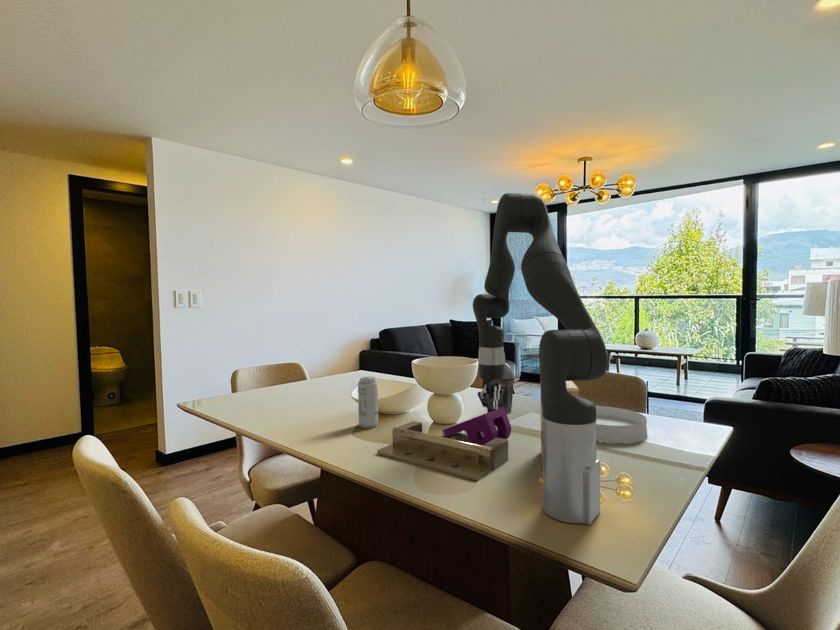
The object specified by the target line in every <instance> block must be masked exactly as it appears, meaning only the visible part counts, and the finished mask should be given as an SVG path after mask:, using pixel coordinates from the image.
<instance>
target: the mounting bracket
mask: <svg viewBox="0 0 840 630" xmlns="http://www.w3.org/2000/svg"><path fill="white" fill-rule="evenodd" d="M511 426H512V425H511V423H510V420H509V418H508V415H507V413H506V412H505V410H504V408H503V407H502V408H499V409H498V408H496V410H494V411H491V412H488V413H487V412H485V413H483V414H481V415H478V416H475V417H473V418H470V419H468V420H464V421H462V422H460V423H457V424H454V425H451V426H449V427H446V428H443V429H442V434H443V435H444V437H445V438H448V437H450V436H452V435H455V434H458V433H461V432H465V434H466V436H467V438H468V441H469V443H472V444H477V445H484V444H486V443H488V442H490V441H491V440H493V439H495V438H502V439H507V440H509V438H510V436H511V433H512V427H511Z"/></svg>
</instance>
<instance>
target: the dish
mask: <svg viewBox="0 0 840 630" xmlns="http://www.w3.org/2000/svg"><path fill="white" fill-rule="evenodd" d="M595 406H596V441H601V442H600V443H602V442H608V443H607V444H616V443H624V444H634V442H635V443H639V442H642V441H645V440H646V439H647V438H648V427H647V424H648V423H647V422H648V421H647V417H646V416H645V415H644V414H642V413H640V412H637V411H633V410H630V409H625V408H620V407H614V406H603V405H595Z"/></svg>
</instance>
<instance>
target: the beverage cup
mask: <svg viewBox="0 0 840 630" xmlns="http://www.w3.org/2000/svg"><path fill="white" fill-rule="evenodd" d="M504 368H505V377H504V378H503V379H500V380H501V386H505V390H504V393H503V396H502V400H501V403H500V404H498V407H497V409H499V408H502V407H503V408H504V410H505V412H506V414H510V413H512V409H513V393H514V385H515V379H516V378H515V374H514V372H513V370H512V369H511V368H510V367H508V366H506V353H505V352H504Z"/></svg>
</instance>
